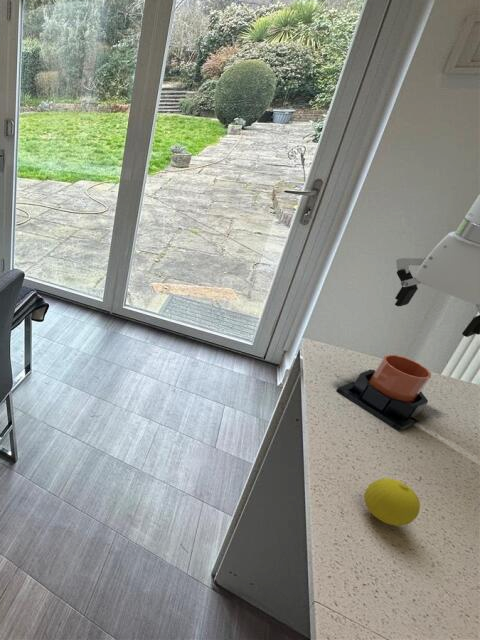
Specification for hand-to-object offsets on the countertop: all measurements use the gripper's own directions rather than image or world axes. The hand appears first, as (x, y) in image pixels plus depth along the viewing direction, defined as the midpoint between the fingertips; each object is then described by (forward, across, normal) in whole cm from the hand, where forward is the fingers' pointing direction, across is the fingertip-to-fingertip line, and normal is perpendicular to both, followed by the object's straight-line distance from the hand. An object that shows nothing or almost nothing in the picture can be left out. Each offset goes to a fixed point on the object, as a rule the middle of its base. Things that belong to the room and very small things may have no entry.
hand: (432, 318), depth 76 cm
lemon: (+21, -15, +29) cm, 39 cm away
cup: (+21, -1, 0) cm, 21 cm away
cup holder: (+21, -1, 0) cm, 21 cm away
